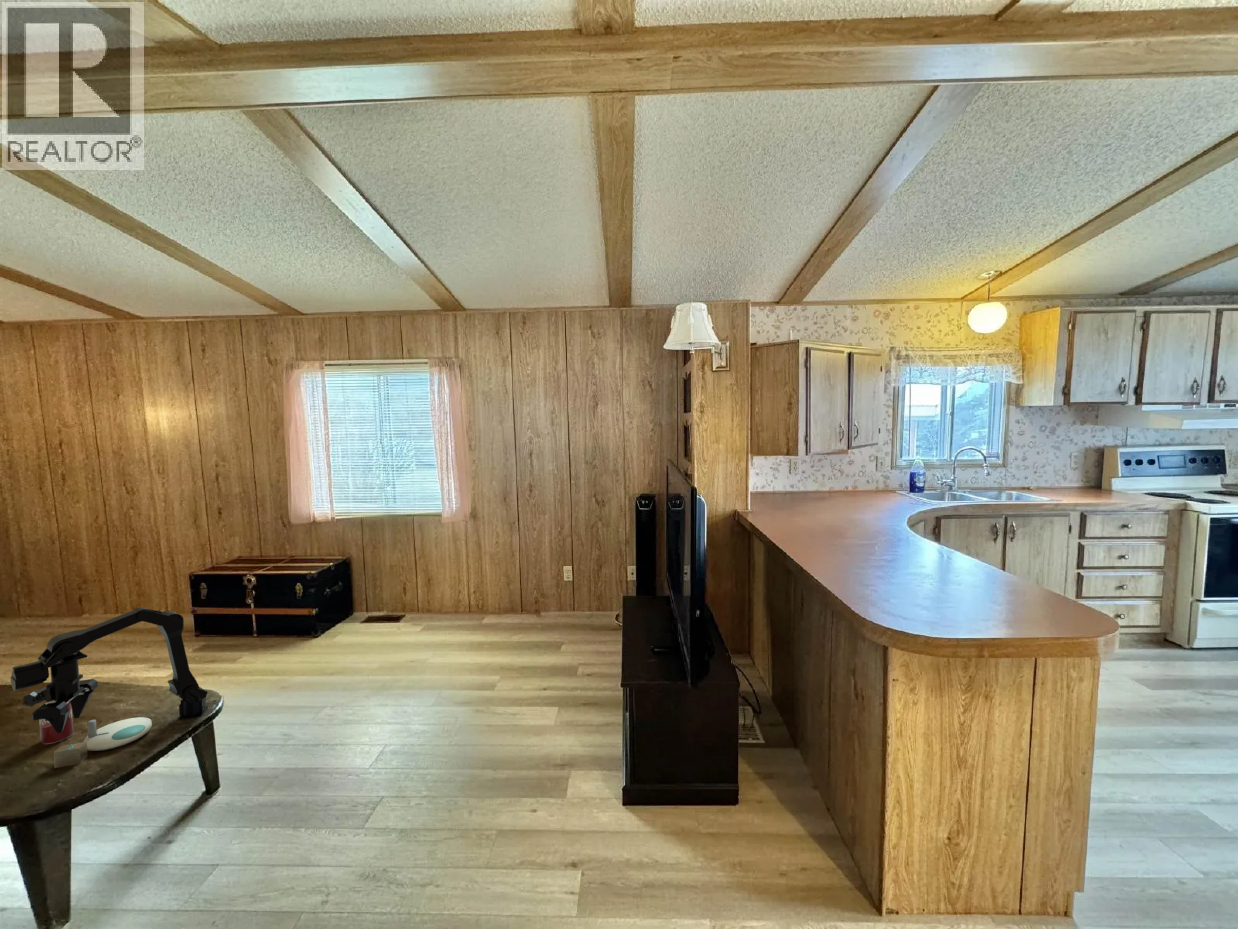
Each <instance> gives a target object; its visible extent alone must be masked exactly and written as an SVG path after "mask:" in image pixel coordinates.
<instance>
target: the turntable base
mask: <svg viewBox="0 0 1238 929" xmlns="http://www.w3.org/2000/svg"><path fill="white" fill-rule="evenodd" d="M140 738H141V737H139V738H138V739H140ZM138 739H136V740H134V741H131V742H129V743H126V744H124V745H121V746H118V747H114V748H110V749H105V750H98V751H97V752H104V751H110V750H113V749H119V748H122V747H124V746H126V745H129V744H132V743H133V742H135V741H137V740H138ZM81 742H82V741H80V742H79V743H81Z"/></svg>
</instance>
